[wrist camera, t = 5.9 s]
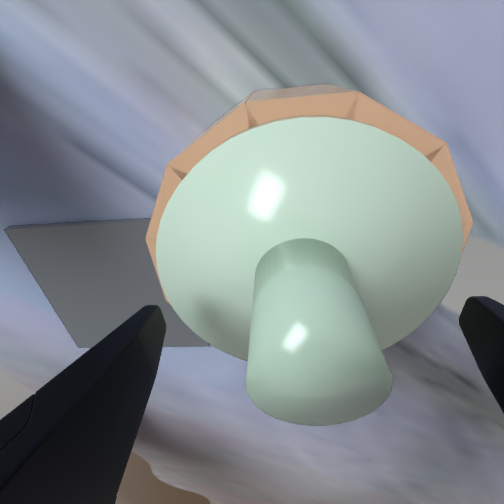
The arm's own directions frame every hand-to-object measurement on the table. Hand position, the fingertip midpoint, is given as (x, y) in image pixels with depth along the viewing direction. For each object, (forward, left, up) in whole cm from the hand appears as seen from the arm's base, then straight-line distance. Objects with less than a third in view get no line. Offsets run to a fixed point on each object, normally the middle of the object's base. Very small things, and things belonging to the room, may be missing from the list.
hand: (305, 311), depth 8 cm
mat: (-5, +11, -7) cm, 14 cm away
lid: (0, 0, -2) cm, 2 cm away
